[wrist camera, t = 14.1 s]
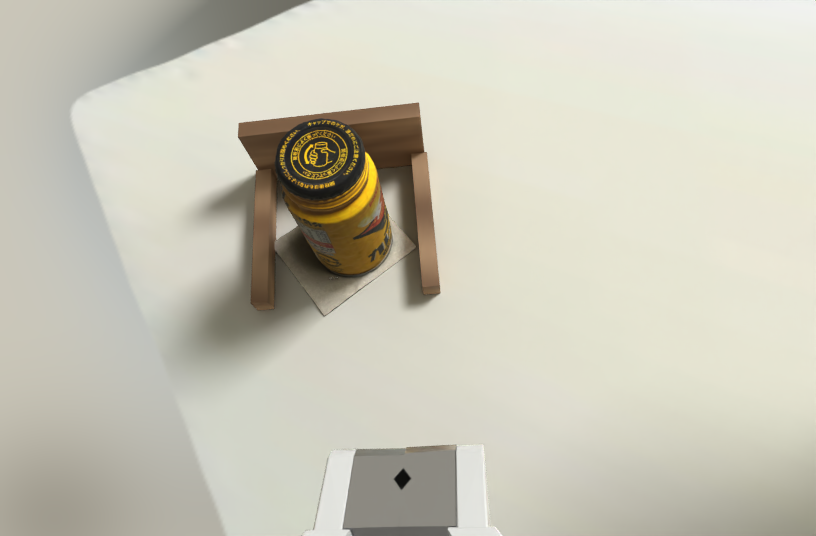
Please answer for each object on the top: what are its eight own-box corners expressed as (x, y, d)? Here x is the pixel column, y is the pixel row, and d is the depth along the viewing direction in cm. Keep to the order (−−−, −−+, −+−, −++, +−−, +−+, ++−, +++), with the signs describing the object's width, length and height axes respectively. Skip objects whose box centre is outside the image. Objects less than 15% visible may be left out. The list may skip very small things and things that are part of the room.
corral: (440, 293, 41) (437, 260, 36) (258, 310, 42) (227, 281, 36) (426, 150, 46) (421, 102, 40) (262, 168, 46) (236, 123, 41)
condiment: (417, 247, 43) (401, 158, 32) (325, 316, 41) (275, 248, 30) (360, 183, 45) (327, 80, 34) (271, 246, 44) (207, 160, 33)
